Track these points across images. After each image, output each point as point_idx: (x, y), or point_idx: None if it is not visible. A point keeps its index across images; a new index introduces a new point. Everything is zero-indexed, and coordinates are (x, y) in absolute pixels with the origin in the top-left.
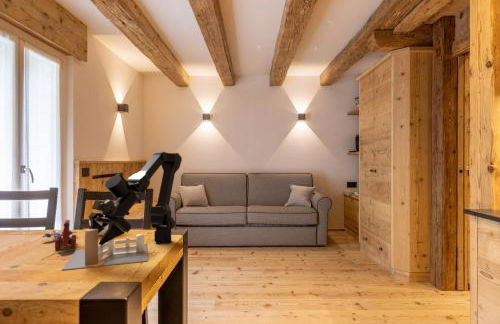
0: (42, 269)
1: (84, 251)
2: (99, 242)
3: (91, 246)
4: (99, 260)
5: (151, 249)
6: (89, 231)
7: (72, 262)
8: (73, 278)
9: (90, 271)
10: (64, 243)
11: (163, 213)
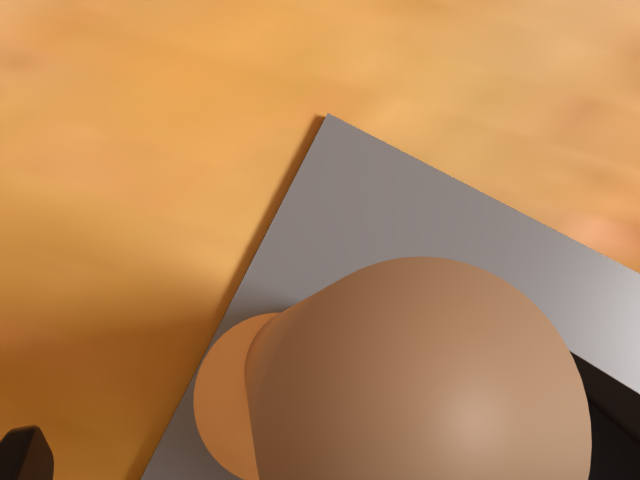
0: (474, 26)
1: None
2: (12, 441)
3: (254, 356)
4: None
5: None
6: (296, 328)
7: (481, 245)
8: (15, 113)
9: (92, 287)
10: None
11: None
